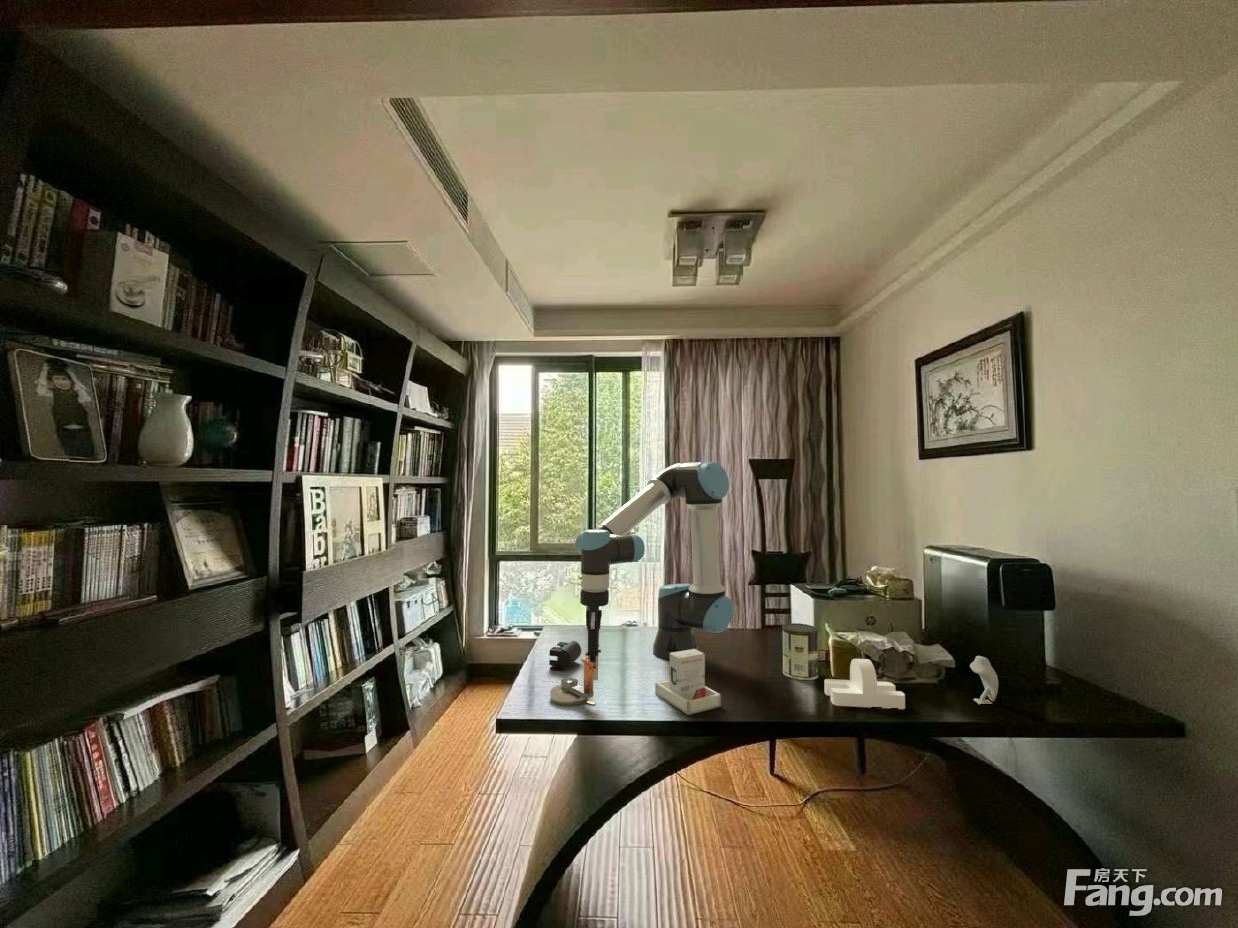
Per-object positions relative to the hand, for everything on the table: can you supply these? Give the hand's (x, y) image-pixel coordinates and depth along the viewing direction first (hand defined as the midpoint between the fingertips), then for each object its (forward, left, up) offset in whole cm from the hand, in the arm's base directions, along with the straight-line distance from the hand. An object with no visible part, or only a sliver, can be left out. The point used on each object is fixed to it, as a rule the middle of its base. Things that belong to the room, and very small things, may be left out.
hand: (592, 679), depth 135 cm
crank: (+4, -1, -3) cm, 5 cm away
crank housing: (+4, -4, -6) cm, 8 cm away
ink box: (-22, +11, -5) cm, 26 cm away
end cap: (-5, -28, -6) cm, 29 cm away
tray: (-23, +11, -6) cm, 26 cm away
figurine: (-92, +50, -6) cm, 105 cm away
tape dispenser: (-65, +33, -6) cm, 73 cm away
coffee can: (-65, +12, -6) cm, 66 cm away
